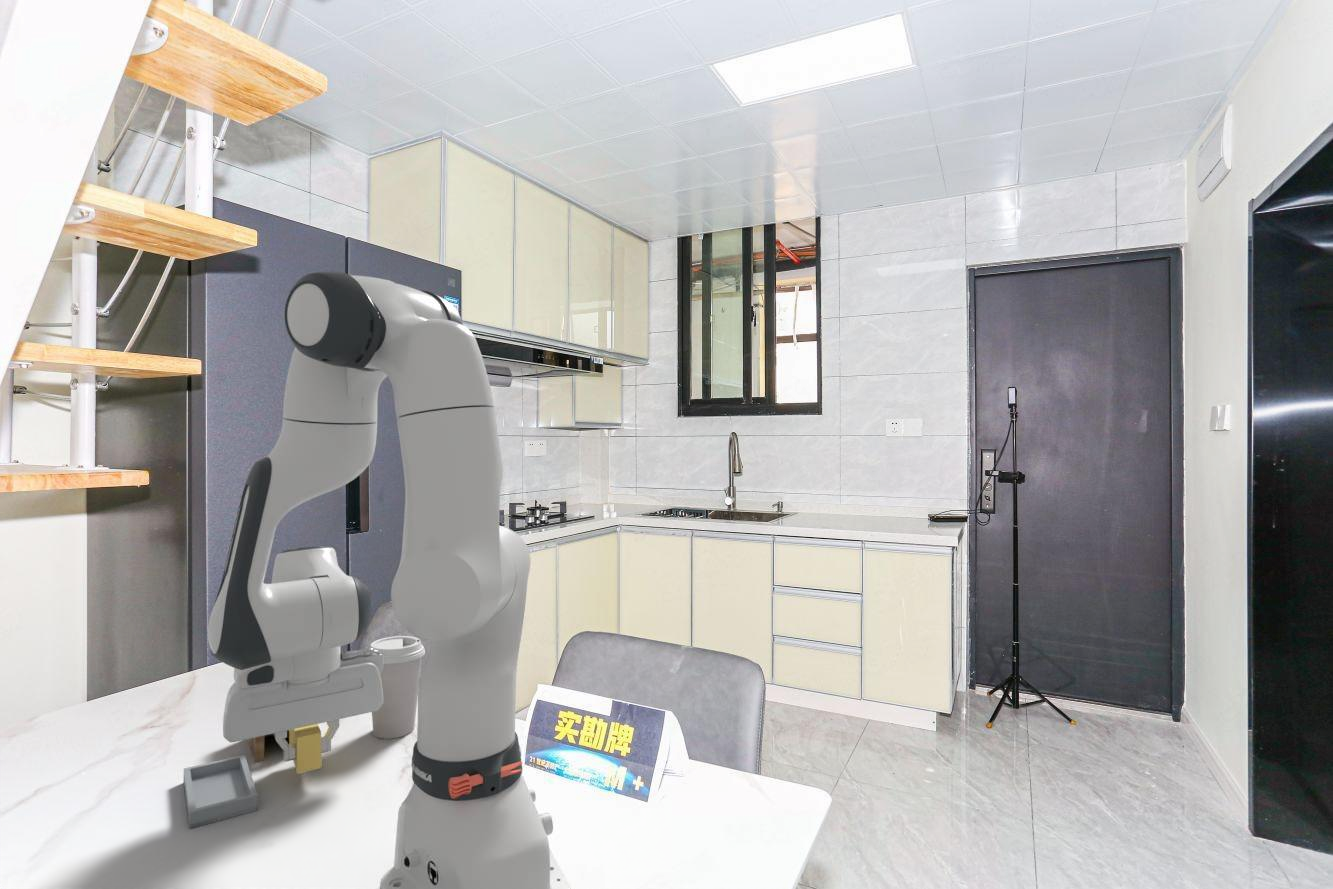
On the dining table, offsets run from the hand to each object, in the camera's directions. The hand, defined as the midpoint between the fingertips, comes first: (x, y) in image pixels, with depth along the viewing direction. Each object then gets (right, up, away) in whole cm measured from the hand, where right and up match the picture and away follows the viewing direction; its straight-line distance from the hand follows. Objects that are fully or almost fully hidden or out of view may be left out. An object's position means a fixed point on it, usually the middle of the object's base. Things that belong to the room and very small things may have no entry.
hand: (307, 755), depth 96 cm
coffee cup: (+5, -4, +18) cm, 19 cm away
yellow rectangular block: (-2, -2, +2) cm, 3 cm away
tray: (-10, -4, -4) cm, 11 cm away
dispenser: (-11, -4, +12) cm, 17 cm away
